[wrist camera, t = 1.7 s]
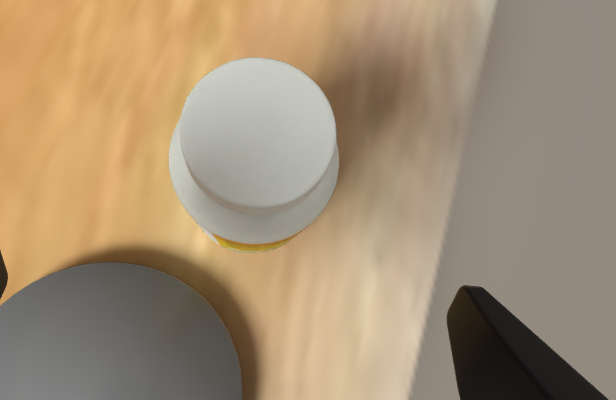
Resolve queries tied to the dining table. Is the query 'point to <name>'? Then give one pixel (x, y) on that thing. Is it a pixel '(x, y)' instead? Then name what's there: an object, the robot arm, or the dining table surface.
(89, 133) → the dining table surface
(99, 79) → the dining table surface
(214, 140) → the supplement bottle
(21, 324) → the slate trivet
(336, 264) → the dining table surface
